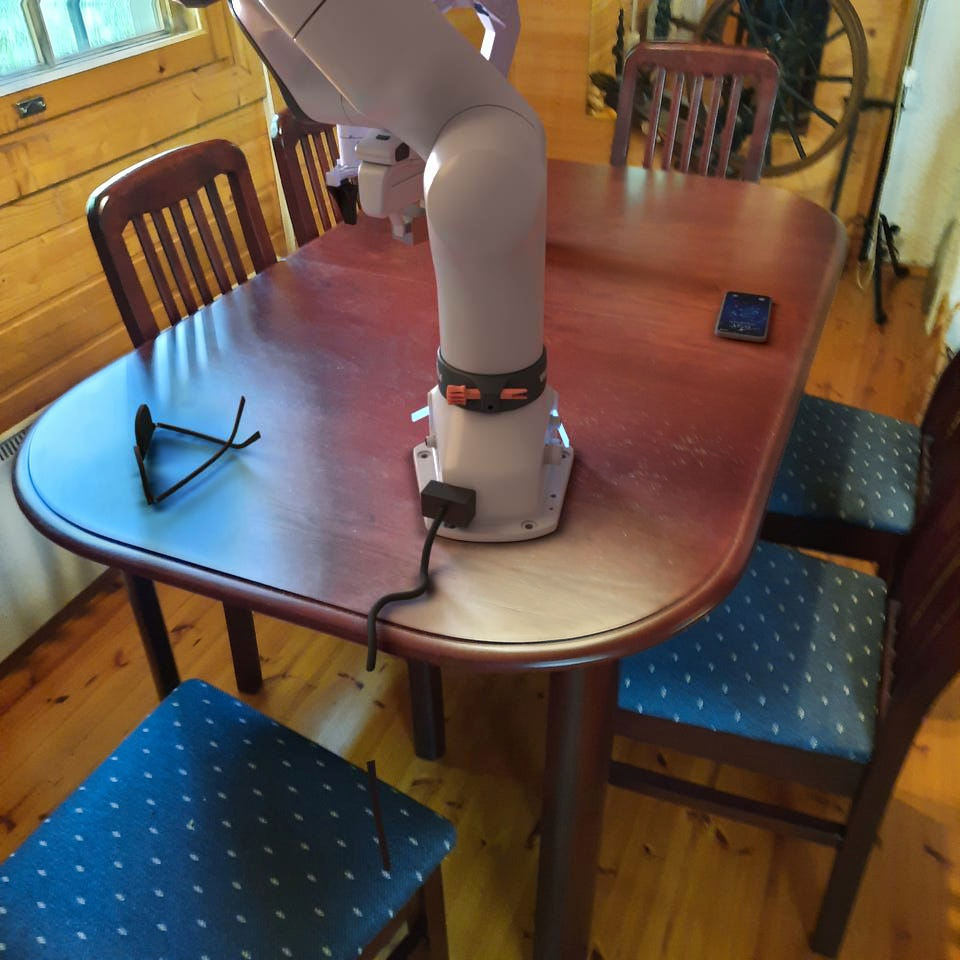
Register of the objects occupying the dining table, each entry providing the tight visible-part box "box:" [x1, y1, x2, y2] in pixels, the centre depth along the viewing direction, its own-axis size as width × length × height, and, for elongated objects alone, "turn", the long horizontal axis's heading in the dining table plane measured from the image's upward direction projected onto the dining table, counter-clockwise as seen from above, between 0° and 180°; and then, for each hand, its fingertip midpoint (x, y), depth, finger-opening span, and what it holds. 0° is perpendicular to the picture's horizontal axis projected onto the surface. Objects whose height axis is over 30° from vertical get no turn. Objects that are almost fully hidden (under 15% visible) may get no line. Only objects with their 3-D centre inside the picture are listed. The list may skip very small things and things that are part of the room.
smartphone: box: [714, 290, 774, 343], centre depth 128 cm, size 7×1×15 cm
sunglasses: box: [132, 395, 262, 506], centre depth 100 cm, size 17×14×5 cm
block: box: [390, 203, 430, 247], centre depth 133 cm, size 4×5×4 cm
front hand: (412, 228), depth 133 cm, fingers closed on block, 5 cm apart
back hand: (364, 216), depth 146 cm, fingers open, 7 cm apart
